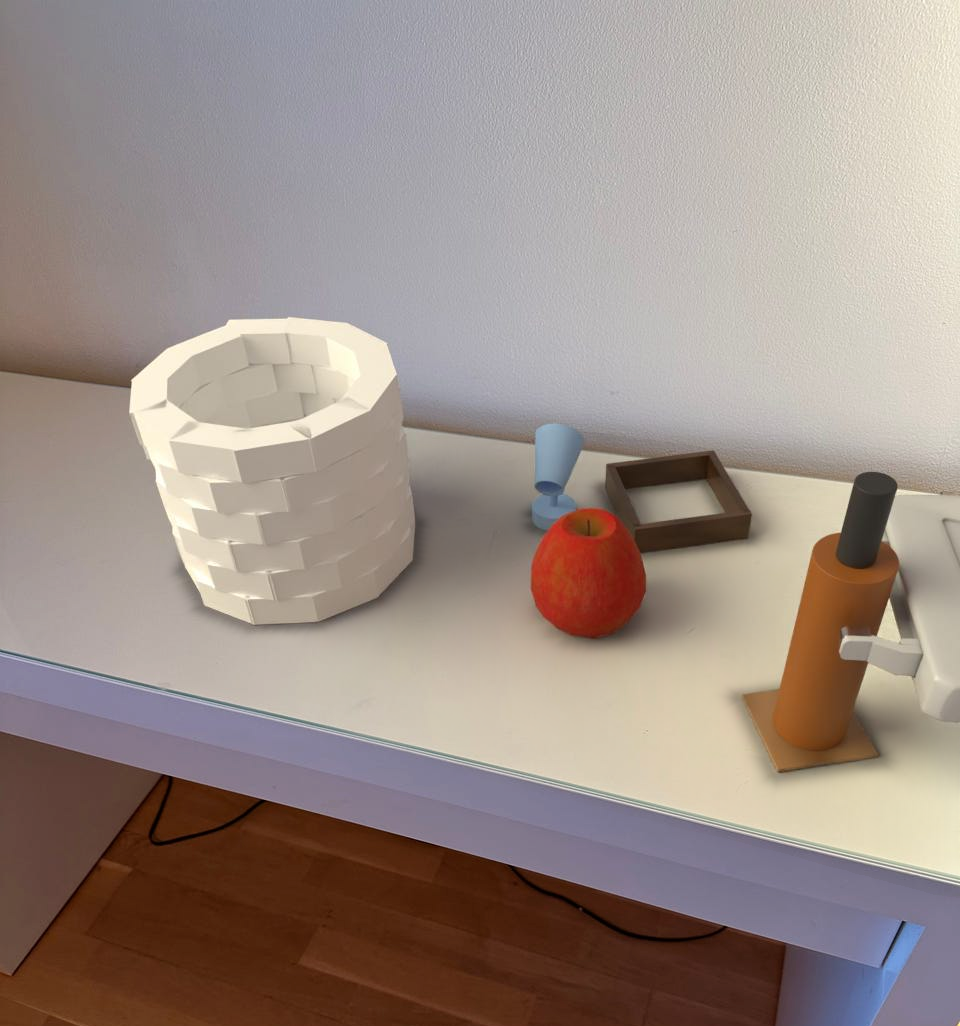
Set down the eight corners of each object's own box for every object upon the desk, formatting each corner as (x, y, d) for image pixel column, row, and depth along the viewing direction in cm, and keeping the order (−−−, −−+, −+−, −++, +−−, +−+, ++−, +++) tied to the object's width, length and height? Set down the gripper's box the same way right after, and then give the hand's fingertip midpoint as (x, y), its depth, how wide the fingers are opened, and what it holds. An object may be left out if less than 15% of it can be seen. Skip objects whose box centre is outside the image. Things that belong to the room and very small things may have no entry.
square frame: (710, 473, 103) (713, 449, 101) (748, 538, 95) (752, 514, 92) (604, 487, 102) (605, 463, 100) (633, 554, 94) (635, 529, 92)
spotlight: (538, 494, 102) (524, 533, 97) (537, 410, 95) (521, 448, 90) (584, 499, 101) (572, 538, 96) (586, 414, 94) (573, 452, 89)
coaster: (834, 683, 80) (835, 680, 80) (877, 757, 74) (878, 753, 74) (741, 697, 79) (742, 694, 79) (777, 772, 74) (778, 769, 73)
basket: (413, 620, 88) (389, 442, 75) (157, 631, 89) (90, 457, 76) (423, 468, 107) (405, 304, 94) (211, 478, 107) (163, 317, 94)
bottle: (828, 693, 79) (897, 453, 63) (858, 744, 75) (940, 502, 59) (762, 703, 78) (815, 464, 62) (788, 755, 74) (853, 514, 58)
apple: (553, 566, 93) (553, 475, 86) (657, 588, 90) (666, 496, 83) (515, 634, 86) (512, 541, 79) (626, 661, 83) (633, 567, 76)
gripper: (1070, 750, 61) (843, 738, 62) (985, 548, 75) (803, 543, 77) (1110, 681, 56) (865, 670, 58) (1012, 481, 71) (818, 477, 73)
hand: (829, 596), depth 67 cm, fingers open, 8 cm apart
